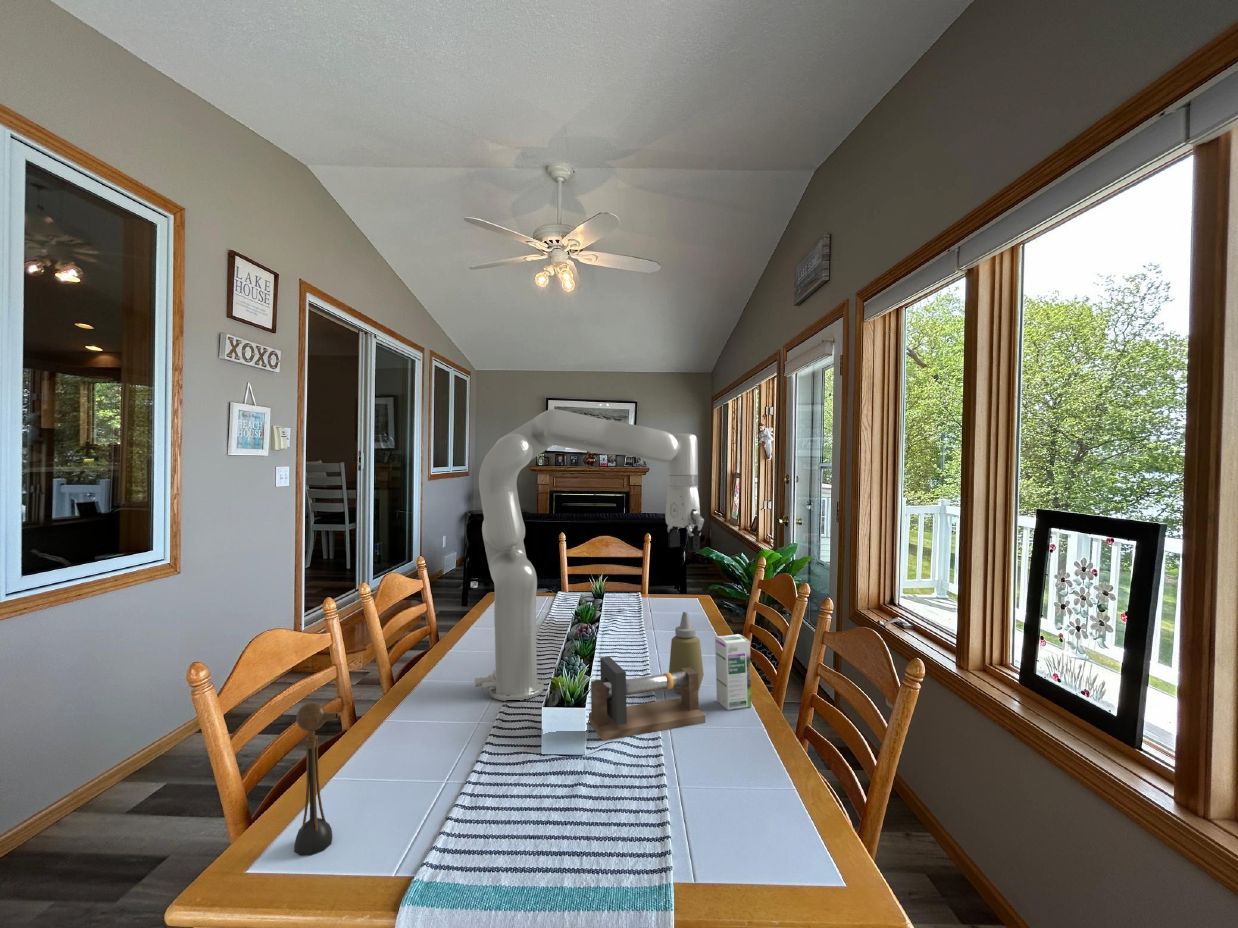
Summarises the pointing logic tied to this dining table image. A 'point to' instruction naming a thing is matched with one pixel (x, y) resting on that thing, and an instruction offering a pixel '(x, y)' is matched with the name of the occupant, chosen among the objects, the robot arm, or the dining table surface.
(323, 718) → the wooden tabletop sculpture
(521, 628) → the robot arm
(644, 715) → the pipe stand
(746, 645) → the syrup box
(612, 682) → the dark grey square plate
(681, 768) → the dining table surface
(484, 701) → the dining table surface
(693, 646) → the squeeze bottle
